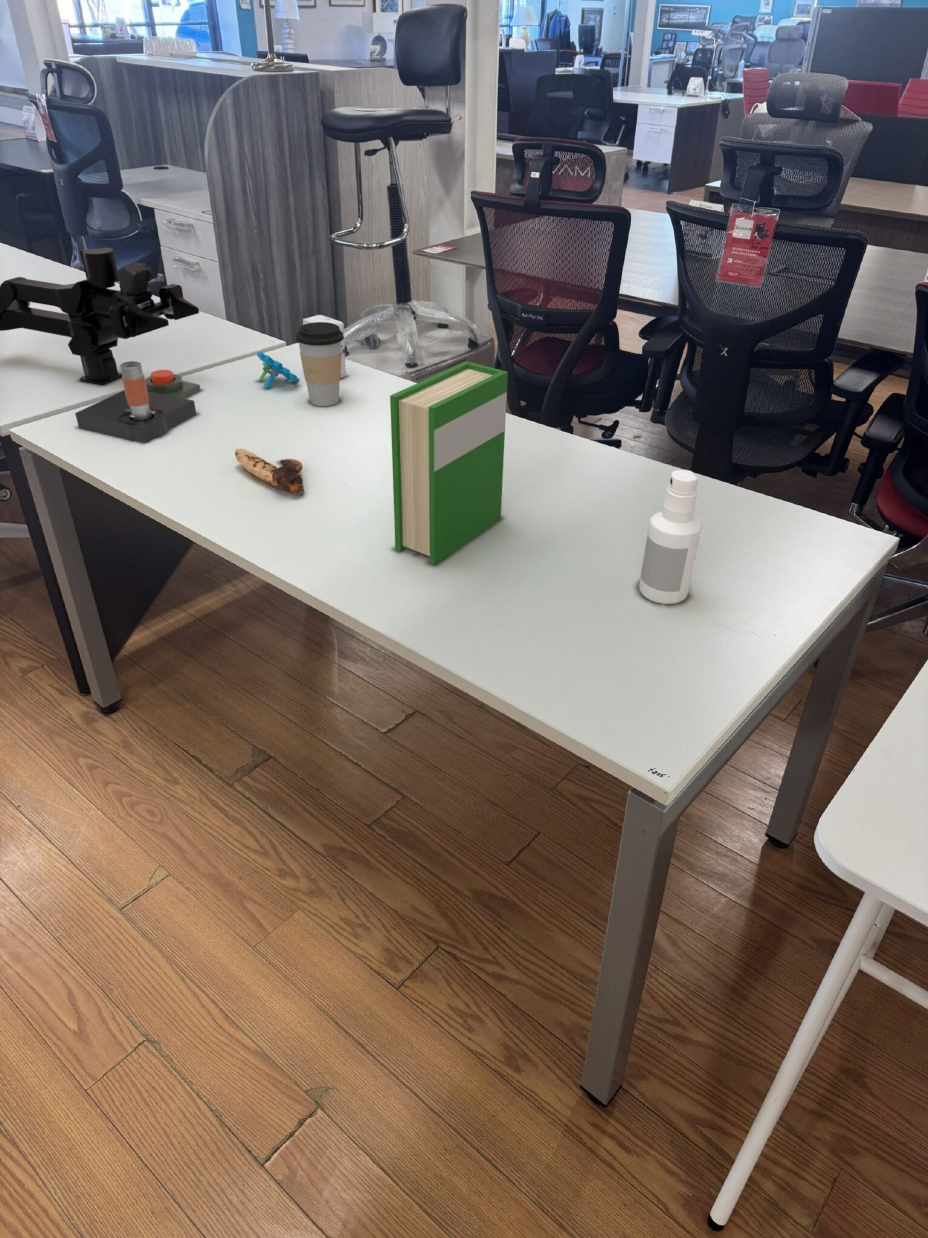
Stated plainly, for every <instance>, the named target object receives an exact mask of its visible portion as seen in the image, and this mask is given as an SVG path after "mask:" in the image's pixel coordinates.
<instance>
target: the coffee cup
mask: <svg viewBox="0 0 928 1238" xmlns="http://www.w3.org/2000/svg"><path fill="white" fill-rule="evenodd" d="M295 336H296V337H295V341H297V343H298V347H299V356H300V360H301V361H300V362H301V366H302V371H303V375H304V377H303V378H304V380H305V382H306V387H307V392H308V397H309V402H310V403H311V405H313V406H317V407H330V406H334V405H337V404H338V403H339V401H340V381H341V378H340V376H341V341H342V340H343V339H344V340H345V335H344V336H343V333H342V331H340V329H339V326H338V325H336V324H333V323H327V322H314V323H308V324H304V325H303V324H302V325H300V326H299V327H298V332H296V334H295Z"/></svg>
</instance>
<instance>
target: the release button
mask: <svg viewBox="0 0 928 1238" xmlns="http://www.w3.org/2000/svg"><path fill="white" fill-rule="evenodd" d="M173 374H174V372H173V371H172V370H170V369H157V370H154V371H152V372H151V373H150V376H151V379H152V383H155V384H166V383H171V382H173V381H174V376H173Z"/></svg>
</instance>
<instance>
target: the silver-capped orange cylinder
mask: <svg viewBox="0 0 928 1238" xmlns="http://www.w3.org/2000/svg"><path fill="white" fill-rule="evenodd" d="M119 368H120V373H122V377H121V380H122V385H123V391H124V390H125V394H126V399H127V403H128V405H129V408H127V409H126V411H130V413H131V415H130V417H132V421H135V422H141V421H147V420H150V419H152V415H151V414H153V413H155V411H152V410H150V405H149V396H148V392H147V387H146V382H145V379H146V377H145V375H144V373H143V372H144V371H143V368H142V363H141V362H139V361H136V360H135V361H134V360H133V361H131V360H130V361H125V362H122V363H120V365H119Z"/></svg>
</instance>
